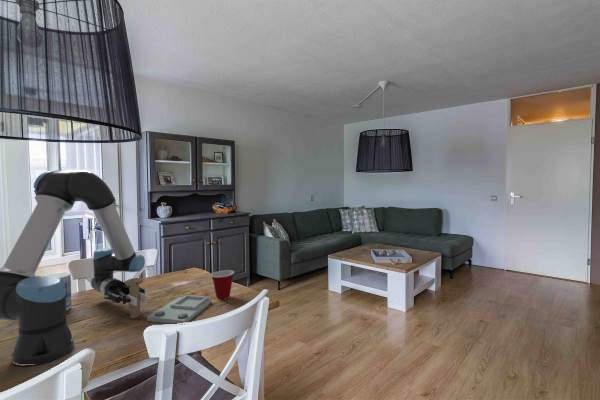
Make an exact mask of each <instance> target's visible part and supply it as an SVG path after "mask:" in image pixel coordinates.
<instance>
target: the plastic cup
mask: <svg viewBox="0 0 600 400" xmlns="http://www.w3.org/2000/svg"><path fill="white" fill-rule="evenodd" d="M234 274H235V271H234V270H229V269H225V270H224V269H223V270H218V271H214V272H213V273H212V272H211V274H210V277H211V279H212V283H213V287H214V292H215V296H216V299H217V298H218V299H225V298H228V297H229V298H230V296H231V290H232V284H233V277H234ZM229 298H228V299H229ZM218 299H217V300H218ZM225 300H226V299H225Z"/></svg>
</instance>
